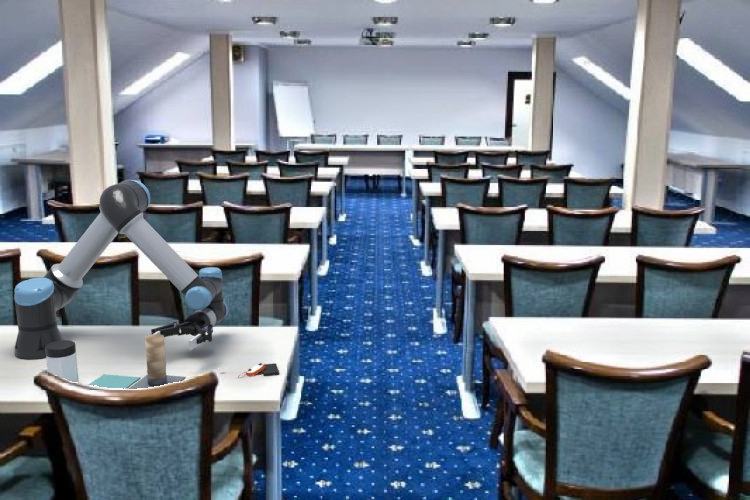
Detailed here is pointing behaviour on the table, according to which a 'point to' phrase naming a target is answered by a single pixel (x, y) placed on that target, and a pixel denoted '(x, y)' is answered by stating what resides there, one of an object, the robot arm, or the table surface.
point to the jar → (62, 359)
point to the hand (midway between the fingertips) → (169, 343)
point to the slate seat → (144, 384)
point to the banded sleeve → (155, 360)
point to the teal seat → (114, 381)
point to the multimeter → (265, 368)
